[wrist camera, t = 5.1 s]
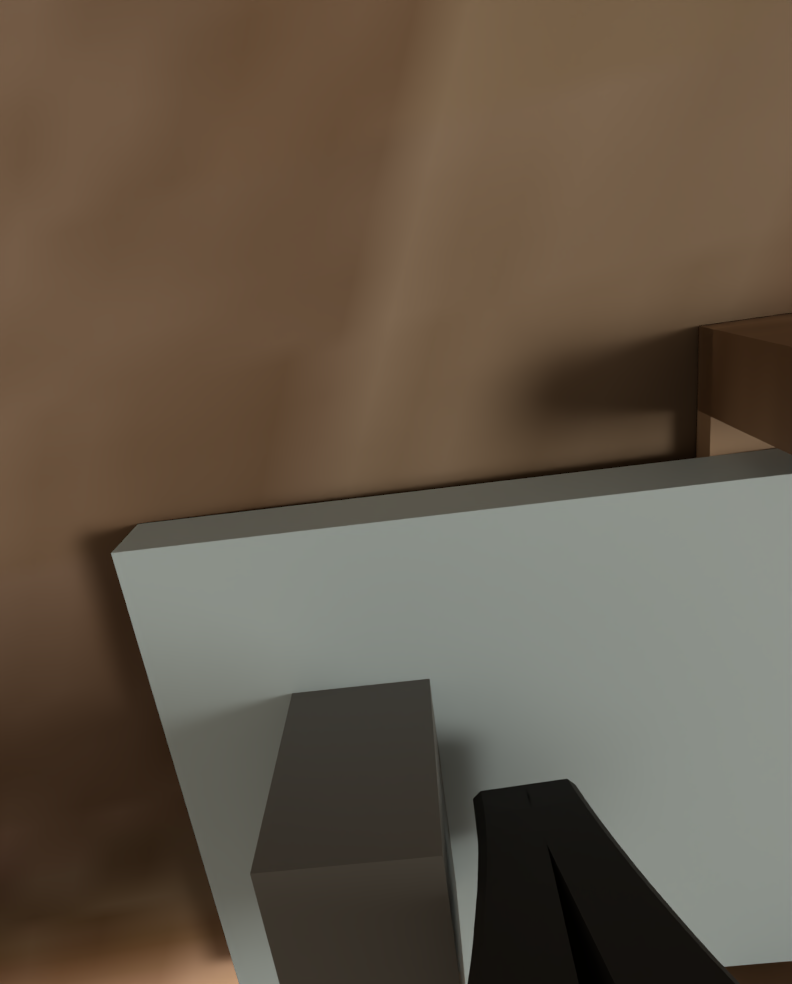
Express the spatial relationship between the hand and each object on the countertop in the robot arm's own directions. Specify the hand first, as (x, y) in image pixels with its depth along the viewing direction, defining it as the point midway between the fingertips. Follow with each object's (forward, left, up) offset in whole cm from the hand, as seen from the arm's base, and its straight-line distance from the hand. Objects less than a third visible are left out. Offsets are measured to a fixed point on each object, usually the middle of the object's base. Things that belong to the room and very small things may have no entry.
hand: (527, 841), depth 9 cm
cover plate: (0, 0, -2) cm, 2 cm away
